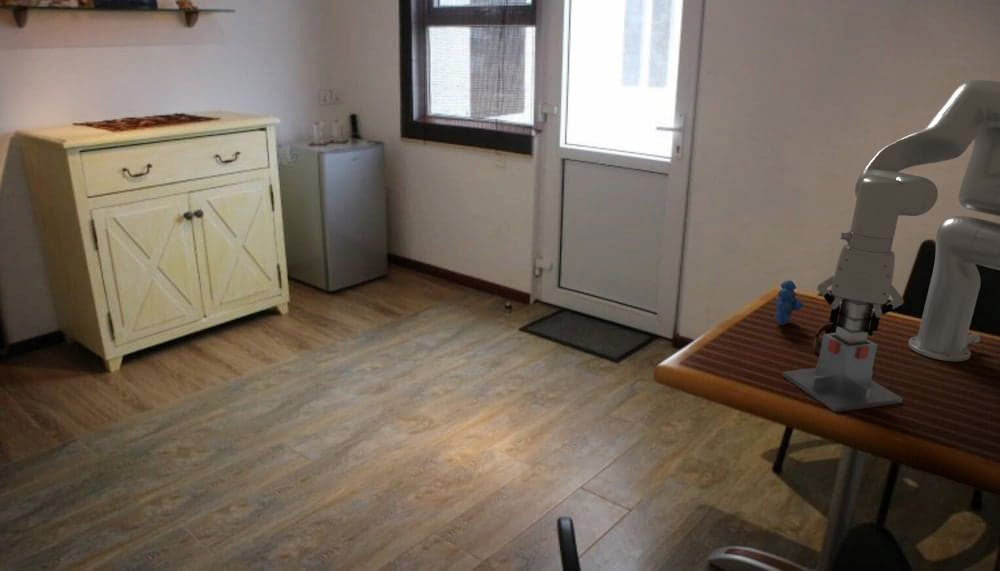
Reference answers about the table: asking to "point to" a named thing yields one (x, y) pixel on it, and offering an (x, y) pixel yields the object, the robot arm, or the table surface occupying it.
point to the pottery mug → (817, 340)
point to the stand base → (843, 377)
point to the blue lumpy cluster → (786, 302)
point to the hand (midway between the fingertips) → (852, 329)
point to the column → (853, 322)
